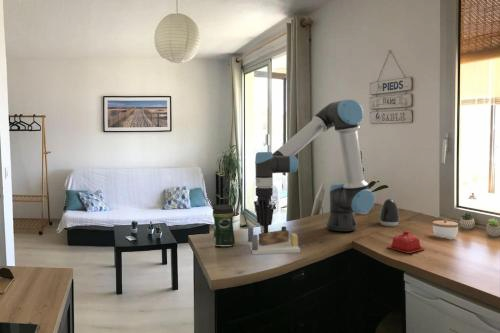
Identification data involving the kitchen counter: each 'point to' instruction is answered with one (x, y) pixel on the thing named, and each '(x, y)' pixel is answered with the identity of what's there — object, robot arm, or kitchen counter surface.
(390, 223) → the dark grey dome
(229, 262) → the kitchen counter surface
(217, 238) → the coffee jar
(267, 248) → the white board with blocks
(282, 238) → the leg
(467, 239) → the kitchen counter surface
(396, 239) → the butter dish
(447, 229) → the lidded jar
